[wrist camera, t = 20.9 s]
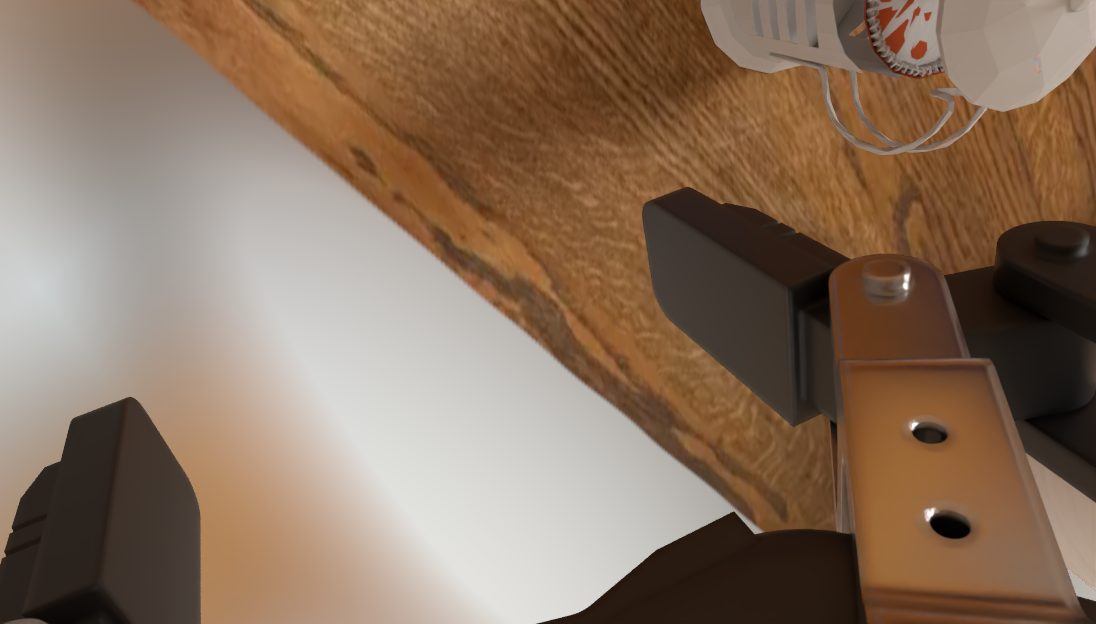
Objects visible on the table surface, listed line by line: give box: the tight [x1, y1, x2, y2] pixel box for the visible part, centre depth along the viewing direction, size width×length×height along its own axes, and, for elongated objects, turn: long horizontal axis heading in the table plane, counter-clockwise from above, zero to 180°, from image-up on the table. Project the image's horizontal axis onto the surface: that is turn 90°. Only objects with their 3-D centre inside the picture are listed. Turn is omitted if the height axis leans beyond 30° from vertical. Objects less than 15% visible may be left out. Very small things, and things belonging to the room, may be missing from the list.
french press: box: [701, 0, 1096, 155], centre depth 27 cm, size 10×12×25 cm
